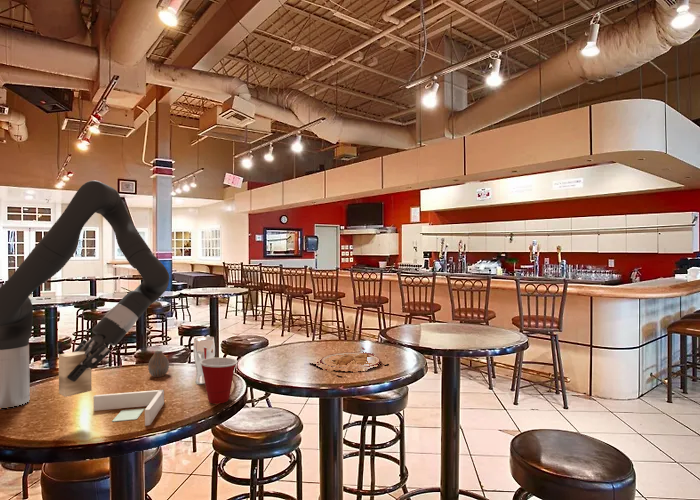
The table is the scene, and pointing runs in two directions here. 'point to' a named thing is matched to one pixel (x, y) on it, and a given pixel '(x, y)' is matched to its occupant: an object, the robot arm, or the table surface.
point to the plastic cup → (218, 378)
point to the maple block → (66, 367)
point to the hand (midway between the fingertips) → (67, 377)
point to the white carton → (202, 354)
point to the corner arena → (131, 404)
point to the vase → (158, 364)
